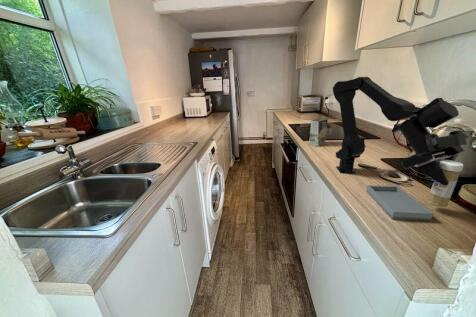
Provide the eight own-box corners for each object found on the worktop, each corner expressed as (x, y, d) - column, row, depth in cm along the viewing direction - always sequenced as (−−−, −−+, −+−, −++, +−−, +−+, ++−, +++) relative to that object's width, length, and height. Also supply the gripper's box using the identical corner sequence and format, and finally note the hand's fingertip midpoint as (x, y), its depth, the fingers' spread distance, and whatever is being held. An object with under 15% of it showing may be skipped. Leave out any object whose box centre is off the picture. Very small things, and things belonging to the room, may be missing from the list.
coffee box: (317, 146, 124) (320, 121, 119) (308, 144, 129) (310, 120, 123) (325, 143, 130) (327, 119, 124) (316, 142, 134) (318, 118, 129)
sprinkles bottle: (422, 200, 62) (436, 159, 57) (436, 198, 62) (450, 158, 57) (437, 208, 57) (453, 165, 53) (452, 207, 58) (469, 164, 53)
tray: (366, 191, 72) (367, 185, 71) (396, 192, 71) (397, 186, 70) (391, 219, 57) (393, 211, 57) (430, 220, 56) (433, 213, 55)
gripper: (425, 124, 52) (467, 180, 46) (467, 118, 57) (508, 166, 52) (388, 145, 61) (418, 193, 56) (426, 138, 67) (457, 180, 61)
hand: (451, 183), depth 56 cm, fingers closed on sprinkles bottle, 4 cm apart
